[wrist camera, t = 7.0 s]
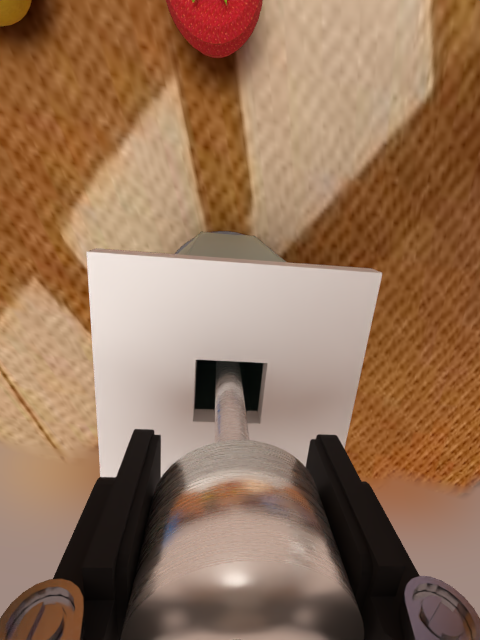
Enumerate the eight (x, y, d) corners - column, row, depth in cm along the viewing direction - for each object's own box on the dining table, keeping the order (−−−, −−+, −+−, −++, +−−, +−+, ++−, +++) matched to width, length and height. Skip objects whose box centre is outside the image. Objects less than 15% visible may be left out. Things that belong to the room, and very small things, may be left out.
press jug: (273, 374, 34) (326, 532, 17) (161, 369, 33) (103, 531, 16) (291, 236, 30) (382, 272, 13) (162, 225, 29) (86, 251, 12)
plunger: (274, 256, 28) (527, 477, 5) (264, 344, 31) (404, 758, 8) (178, 248, 27) (-31, 466, 4) (176, 339, 30) (35, 778, 7)
